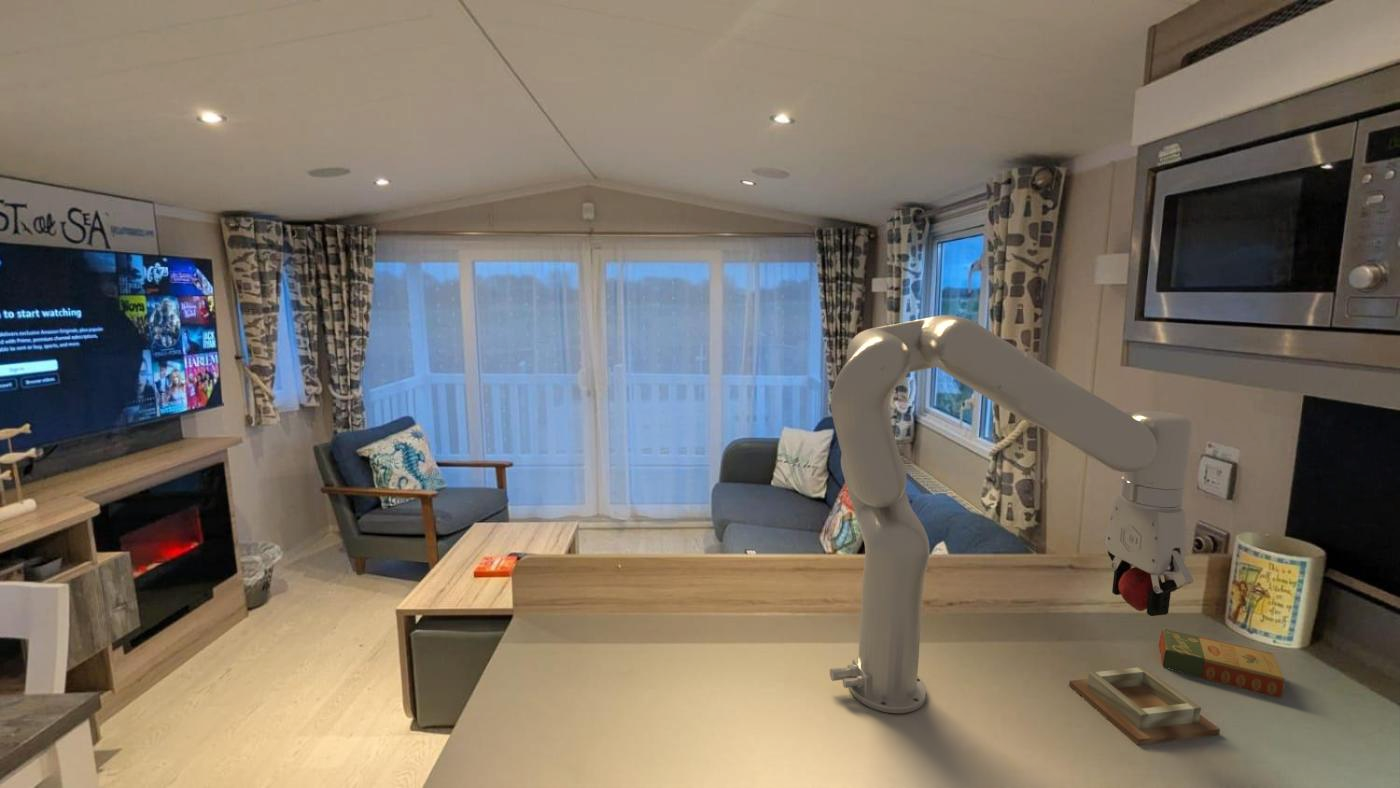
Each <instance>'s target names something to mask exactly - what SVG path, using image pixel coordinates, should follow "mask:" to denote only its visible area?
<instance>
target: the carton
mask: <svg viewBox="0 0 1400 788" xmlns="http://www.w3.org/2000/svg"><path fill="white" fill-rule="evenodd" d="M1158 650H1159V655H1160V654H1161V655H1160V659H1161V660H1162V661H1161V660H1160V661H1161V664H1162V665H1163V666H1162V667H1163V668H1164V667H1165V668H1164V669H1166V668H1170V669H1173V670H1172V671H1174V670H1176V671H1175V672H1178V671H1180V672H1179V673H1182V672H1183V673H1182V674H1186V675H1189V676H1194V677H1198V678H1202V679H1205V680H1206V679H1207V680H1209V681H1214V682H1217V683H1220V684H1224V685H1228V686H1232V687H1235V688H1240V689H1244V690H1247V691H1251V692H1254V693H1259V694H1264V695H1267V696H1270V697H1273V698H1277V699H1282V696H1283V692H1284V683H1285V682H1284V680H1285V677H1284V675H1283V673H1282V670H1281V668H1280V666H1279V663H1278V662H1277V661H1278V660H1277V659H1276V656H1275V654H1274V653H1272V652H1268V651H1263V650H1259V649H1255V648H1251V647H1246V646H1242V645H1238V644H1232V643H1228V642H1222V641H1219V640H1215V639H1211V638H1207V637H1203V636H1197V635H1193V634H1188V633H1184V632H1180V631H1176V630H1175V631H1174V630H1171V629H1168V628H1162V629H1161V632H1160V636H1159V640H1158ZM1170 669H1169V670H1170Z"/></svg>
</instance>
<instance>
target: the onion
mask: <svg viewBox="0 0 1400 788" xmlns="http://www.w3.org/2000/svg"><path fill="white" fill-rule="evenodd" d="M1118 585H1119V591H1120V593H1121V597H1122V599H1123V600H1124V601H1125V602H1126V603H1127V604H1128V605H1130V606H1131V607H1132V608H1133V609H1135V610H1136V611H1139V612H1144V611H1145V610H1147V604H1148V596H1149V591H1150V590H1154V589H1153V584H1152V579H1151V574H1149V573H1146V572H1144V571H1142V570H1140V569H1139V568H1137V567H1135V566H1133V567H1131V568H1130V569H1129V570H1127V571H1126V572H1125V573H1124V574H1123V575H1122V577H1121V578H1120V580H1119V584H1118Z"/></svg>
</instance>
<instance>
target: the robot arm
mask: <svg viewBox="0 0 1400 788" xmlns="http://www.w3.org/2000/svg"><path fill="white" fill-rule="evenodd" d="M846 351H847V352H846V360H847V362H846V363H845V364H844V366H843V367H842V368H841V370H840V371H839V373H838V375H837V376H836V379H835V382H834V384H833V386H832V391H831V396H830V408H831V409H830V410H831V415H832V421H833V425H834V429H835V434H836V437H837V442H838V445H839V449H840V453H841V456H840V468H841V472H842V475H843V478H844V482H845V485H846V488H847V491H848V492H847V493H848V495H849V499H850V502H851V505H852V509H853V512H854V515H855V518H856V522H857V525H858V528H859V531H860V533H861V537H862V540H863V543H864V551H865V552H864V553H865V555H864V565H863V573H862V579H861V581H862V582H861V594H860V595H861V597H860V600H861V601H860V622H859V641H858V657H852V664H848V665H847V667H836V668H835V667H834V668H832V667H831V668H830V669H829V676H830V679H831V681H833V682H835V681H842V686H843V688H844V689H846V688H847V689H849V691H850V693H851V695H852V696H853V697H854V698H855V699H856V700H858V701H859V702H860V703H861V704H863V705H865V706H867V707H869V708H870V709H874V710H875V711H878V712H879V711H880V712H883V713H889V714H905V713H906V714H907V713H911V712H914V711H917V710H918V709H920V708H921V707H923V705H924V704H925V702H926V699H927V687H926V685H925V683H924V681H923V680H922V679H921V677H919V675H918V673H919V671H918V670H919V656H920V655H919V654H920V645H921V644H920V642H921V640H920V639H921V626H922V614H923V613H922V612H923V599H924V597H923V595H924V586H925V579H926V576H927V575H926V574H927V569H928V566H929V562H930V561H929V560H930V541H929V537H928V534H927V532H926V529H925V527H924V525H923V524H922V522H921V521H920V519H919V516H917V514H916V513H915V511H914V510H913V508H912V505H911V503H910V500H909V497H908V493H907V490H906V487H907V480H908V479H907V477H908V476H907V470H906V467H905V466H906V465H905V463H904V461H903V459H902V456H901V453H900V450H899V447H898V444H897V440H896V437H895V433H894V430H893V429H894V428H893V425H892V420H891V417H890V411H889V404H890V403H889V401H890V399H891V396H892V394H893V393H894V392H895V390H896V388H897V387H898V386H899V385H900V384H901V383H902V382H903V381H904V380H905V378H906V377H907V375H908V373H914V372H919V371H924V370H928V369H932V368H933V369H934V368H938V369H939V370H940V371H942V372H943V373H945V374H947V375H949V376H951V378H953V379H954V380H957V381H959V382H960V383H962V384H964V386H967V387H968V388H970V389H971V390H974V391H975V392H977V393H978V394H980V395H982V396H983V397H985V398H986V399H988V400H990V401H991V402H993V403H995V404H996V405H998V406H999V407H1000V408H1002V409H1004V410H1006V411H1008V412H1009V413H1011V414H1013V415H1014V416H1016V417H1018V418H1019V419H1022V420H1024V421H1025V422H1027V423H1031V424H1032V425H1035V426H1037V427H1039V428H1041V429H1044V430H1045V431H1047V432H1049V433H1051V434H1053V435H1054V436H1056V437H1058V438H1060V439H1062V440H1063V441H1065V442H1066V443H1068V444H1070V445H1071V446H1072V447H1073V448H1074V449H1075V450H1077V451H1078V452H1080V453H1081V454H1083V455H1085V456H1086V457H1088V458H1090V459H1092V460H1094V461H1096V462H1098V463H1100V464H1101V465H1103V466H1104V467H1105V468H1108V469H1110V470H1112V471H1113V472H1114V471H1116V472H1119V473H1123V476H1122V477H1121V478H1120V483H1121V484H1122V489H1121V493H1118V494H1117V496H1116V498H1115V500H1114V502H1113V506H1112V509H1111V512H1110V517H1109V522H1108V527H1107V531H1106V535H1105V536H1103V537H1102V540H1101V541H1102V543H1103V544H1104V547H1105V548H1106V550H1107V554H1108V556H1109V559H1110V560H1111V565H1110V566H1111V568H1112V569H1113V570H1114V571H1113V582H1112V590H1111V591H1112V594H1114V595H1116V596H1119V595H1121V593H1120V591H1119V585H1118V584H1119V580H1120V578H1121V577H1122V575H1123V574H1124V573H1125V572H1126V571H1127V570H1129V569H1131V568H1133V567H1137V568H1139V569H1140V570H1142V571H1144V572H1146V573H1149V574H1151V579H1152V584H1153V589H1154V590H1150V591H1149V596H1148V604H1147V609H1146V614H1147V615H1148V616H1150V617H1157V616H1164V615H1168V614H1169V610H1170V601H1171V594H1172V592H1173V593H1174V592H1176V591H1177V590H1179V589H1181V588H1183V587H1185V586H1187V585H1190V584H1192V583H1194V577H1193V576H1192V574H1191V573H1190V571H1189V569H1188V568H1187V566H1186V564H1185V557H1186V549H1187V522H1186V521H1187V520H1186V514H1185V509H1184V508H1183V501H1184V494H1185V485H1186V478H1187V469H1188V462H1189V456H1190V455H1189V454H1190V447H1191V441H1192V440H1191V439H1192V431H1193V426H1192V422H1191V420H1190V419H1189V418H1188V417H1186V416H1184V415H1183V414H1182V415H1181V414H1179V413H1175V412H1168V411H1159V410H1158V411H1157V410H1143V411H1138V412H1131V411H1123V410H1122V409H1120V408H1118V407H1116V406H1115V405H1113V404H1111V403H1110V402H1108V401H1106V400H1104V398H1101V397H1100V396H1098V395H1096V394H1095V393H1092V392H1091V391H1089V390H1088V389H1086V388H1084V387H1082V386H1080V385H1079V384H1077V383H1075V382H1073V381H1072V380H1071V379H1069V378H1068V377H1066V376H1065V375H1063V374H1061V373H1059V372H1058V371H1056V369H1054V368H1052V367H1049V366H1048V365H1047V364H1044V363H1043V362H1041V361H1039V360H1038V359H1035V358H1034V357H1033V356H1031V355H1029V354H1028V353H1026V352H1025V351H1023V350H1021V349H1020V348H1018V347H1016V346H1015V345H1013V344H1012V343H1009V342H1008V341H1007V340H1005V339H1004V338H1002V337H1000V336H998V335H997V334H996V333H993V331H990V330H989V329H987V328H985V327H984V326H982V325H980V324H979V323H977V322H976V321H973V320H971V319H968V318H965V317H962V316H956V315H953V314H952V315H950V314H942V315H935V316H930V317H925V318H920V319H914V320H911V321H905V322H900V323H899V322H898V323H893V324H889V325H883V326H882V325H881V326H877V327H872V328H867V329H864V330H863V331H860V332H859V333H857V334H856V335H855V336H854V337H853V338H852V339H851V341H850V343H849V344H848V347H847V350H846ZM1174 575H1175V576H1174ZM1161 576H1163V578H1164V581H1162V577H1161ZM1121 596H1122V595H1121Z"/></svg>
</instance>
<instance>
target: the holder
mask: <svg viewBox="0 0 1400 788" xmlns="http://www.w3.org/2000/svg"><path fill="white" fill-rule="evenodd" d="M1087 676H1088V677H1087V678H1083V679H1082V678H1081V679H1073V680H1069V683H1068V686H1069V687H1070V689H1072V690H1073V691H1074V692H1075V691H1076V692H1075V693H1076V694H1078V695H1079V696H1080V695H1081V696H1082V697H1083V698H1084V699H1083V698H1082V697H1081V696H1080V697H1081V698H1082V699H1083V700H1085V701H1086V702H1087V703H1088V702H1089V703H1088V704H1089V705H1090V704H1091V705H1090V706H1092V708H1094V709H1095V710H1096V709H1097V710H1098V711H1099V713H1100V714H1101V715H1102V716H1103V715H1104V716H1103V717H1104V718H1106V719H1107V720H1108V721H1109V722H1110V723H1111V724H1112V725H1113V726H1114V727H1116V728H1117V729H1118V730H1119V731H1120V732H1121V733H1123V734H1124V735H1125V736H1126V737H1128V738H1129V740H1131V741H1132V742H1133V743H1134V744H1135V745H1137V746H1144V745H1150V744H1159V743H1167V741H1168V742H1174V741H1173V740H1176V741H1182V739H1183V740H1190V739H1189V738H1191V739H1196V738H1197V737H1199V738H1205V737H1206V736H1207V737H1213V736H1220V733H1221V728H1219V726H1217V725H1215V724H1214V723H1213V722H1211V721H1209V719H1207V718H1205V716H1203V715H1201V710H1202V707H1201V706H1199V704H1197V703H1195V702H1194V701H1192V700H1191V699H1190V698H1188V697H1187V696H1186V695H1184V694H1183V693H1181V692H1180V691H1179V690H1178V689H1176V688H1175V687H1173V686H1172V685H1171V684H1169V683H1168V682H1166V681H1164V680H1163V679H1162V678H1160V677H1159V676H1157V675H1156V674H1155V673H1153V672H1152V671H1151V670H1149V669H1148V668H1146V667H1145V666H1139V667H1131V668H1123V669H1120V668H1119V669H1112V670H1104V671H1093V672H1091V671H1090V672H1088V675H1087ZM1097 710H1096V711H1097ZM1098 711H1097V712H1098ZM1197 739H1198V738H1197Z"/></svg>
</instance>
